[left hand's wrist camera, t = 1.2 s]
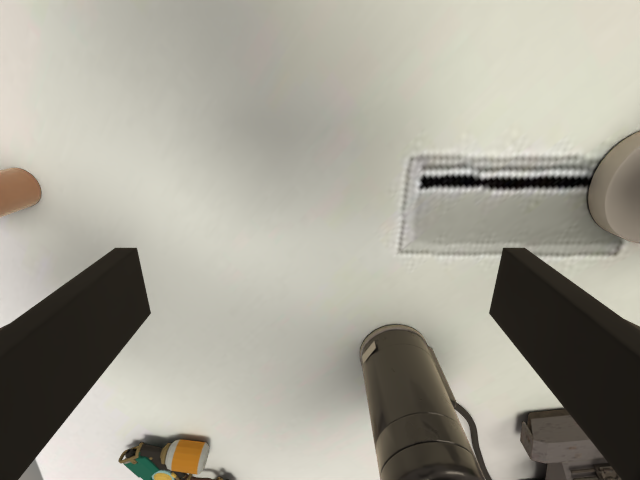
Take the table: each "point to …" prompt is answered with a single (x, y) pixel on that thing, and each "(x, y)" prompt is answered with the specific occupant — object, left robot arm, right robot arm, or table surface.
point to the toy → (563, 448)
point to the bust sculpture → (618, 190)
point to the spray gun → (168, 460)
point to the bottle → (17, 190)
